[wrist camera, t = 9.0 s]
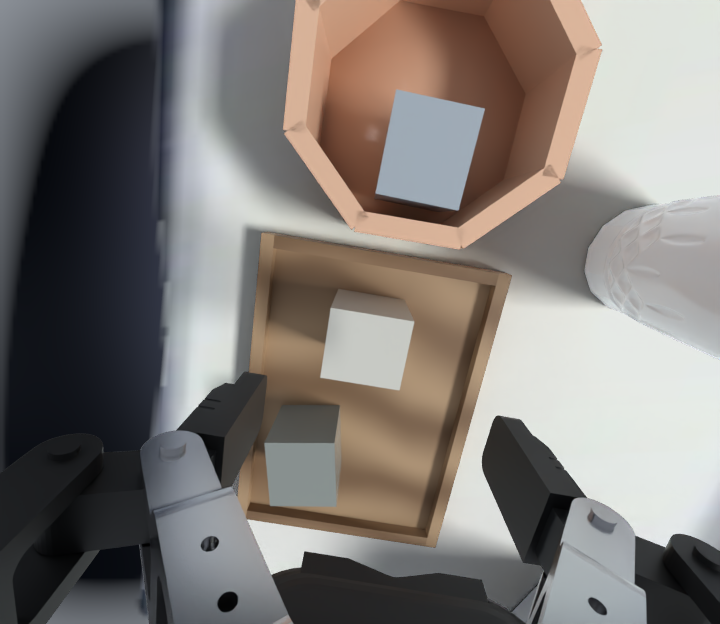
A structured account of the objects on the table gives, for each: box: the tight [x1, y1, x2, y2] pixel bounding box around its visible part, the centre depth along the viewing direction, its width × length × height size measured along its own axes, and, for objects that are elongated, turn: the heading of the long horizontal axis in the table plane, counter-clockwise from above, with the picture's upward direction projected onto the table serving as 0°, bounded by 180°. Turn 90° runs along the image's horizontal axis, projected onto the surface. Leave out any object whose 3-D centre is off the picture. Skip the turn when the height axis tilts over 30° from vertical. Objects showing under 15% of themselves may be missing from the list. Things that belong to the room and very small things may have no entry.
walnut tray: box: [237, 232, 512, 548], centre depth 25 cm, size 22×16×1 cm
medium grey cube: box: [264, 405, 342, 507], centre depth 24 cm, size 5×4×4 cm
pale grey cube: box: [320, 289, 414, 390], centre depth 21 cm, size 4×4×5 cm
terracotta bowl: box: [283, 0, 602, 250], centre depth 18 cm, size 13×13×6 cm
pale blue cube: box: [374, 89, 485, 212], centre depth 18 cm, size 4×4×5 cm
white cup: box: [584, 195, 720, 360], centre depth 18 cm, size 8×8×10 cm
